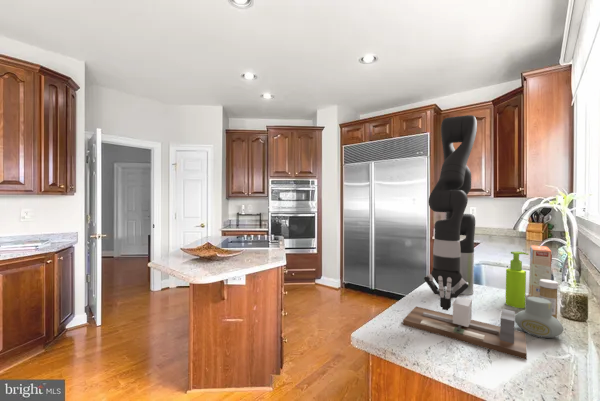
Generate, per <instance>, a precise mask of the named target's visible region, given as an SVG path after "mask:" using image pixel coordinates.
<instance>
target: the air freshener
mask: <svg viewBox="0 0 600 401" xmlns="http://www.w3.org/2000/svg"><path fill="white" fill-rule="evenodd" d="M515 323H516V324H515V325H517V326H518V327H519V328H520V329H521V330H522V331H523V332H525V333H527V334H529V335H531V336H533V337H536V338H541V339H542V338H543V339H544V338H545V339H548V338H549V339H551V338H557V337H559V336H560V335H562V334H563V332H564V326H563V324H562V323H561V321H560V320H559V319H558V318H557V319H556V318H555V317H553V316H552V303H551V302H550V301H549V300H546V299H543V298H539V297H529V296H527V297H525V309H524V310H520V311H518V312H517V313H515Z"/></svg>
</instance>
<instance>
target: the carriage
mask: <svg viewBox="0 0 600 401" xmlns="http://www.w3.org/2000/svg"><path fill="white" fill-rule="evenodd" d="M472 301H473V300H472V299H471V298H466V297H461V296H458V297H457V298H454V300H453V302H452V315H453V323H454V324H458V325H459V326H458V328H457V331H460V329H461V327H462V326H466V327H469V324H470V321H471V320H472V312H473V310H472V309H473V308H472V307H473V306H472V305H473V302H472Z"/></svg>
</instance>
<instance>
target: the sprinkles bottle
mask: <svg viewBox="0 0 600 401" xmlns="http://www.w3.org/2000/svg"><path fill="white" fill-rule="evenodd" d="M539 285H540V298H543V299H546V300H549V301H550V302H551V303H552V316H553V317H555V318H556V319H557V320H558V289H559V282H558V281H556V280H552V279H551V280H547V279H541V280H540V281H539Z"/></svg>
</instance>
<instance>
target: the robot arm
mask: <svg viewBox="0 0 600 401" xmlns="http://www.w3.org/2000/svg"><path fill="white" fill-rule="evenodd" d="M477 131H478V121H477V119H476V116H475V115H473V114H472V115H471V114H469V115H461V116H460V115H459V116H458V115H457V116H451V117H445V118H444V119H443V120H442V121H441V125H440V135H441V137H440V138H441V144H442V151H443V152H442V153H443V162H442V166H441V168H440V169H441V170H440V175H439V178H438V180H437V183H436V184H435V186H434V188H433V189H432V190H431V192H430V195H429V196H428V197H429V198H428V207H429V209H431V210H432V211H433V212H434V213H435V212H437V213H445V219H439V220H436V221H435V223H434V235H433V236H434V237H433V238H434V241H433V244H432V247H433V248H432V270H431V272H430V274H427V275H425V276H424V278H423V280H424V282H426V284H427V285H428V286H429V288H430V290H431V291H432V292H433V294H434V295H436V296H439V297H440V298H439V306H440V308H442V310H444V311H449V310H450V309H451V308H452V299H456V298H457V297H460V295H466V296H468V295H473V294H474V272H475V270H474V267H475V266H474V265H475V264H474V263H475V234H476V233H475V231H476V218H475V215H474V214H471V213H465V211H466V209H467V206H468V200H469V199H468V194H469V193H470V191H471V190H472V171H471V170H470V168H469V166H468V165H467V163H468V160H469V158H470V155H471V152H472V149H473V146H474V143H475V140H476V136H477ZM454 143H460V145H459V146H458V147H457V148H455V147H454ZM461 236H465V237H464V238H463V239H461ZM434 281H435V282H434ZM436 284H437V285H438V286H437V285H436Z"/></svg>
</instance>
